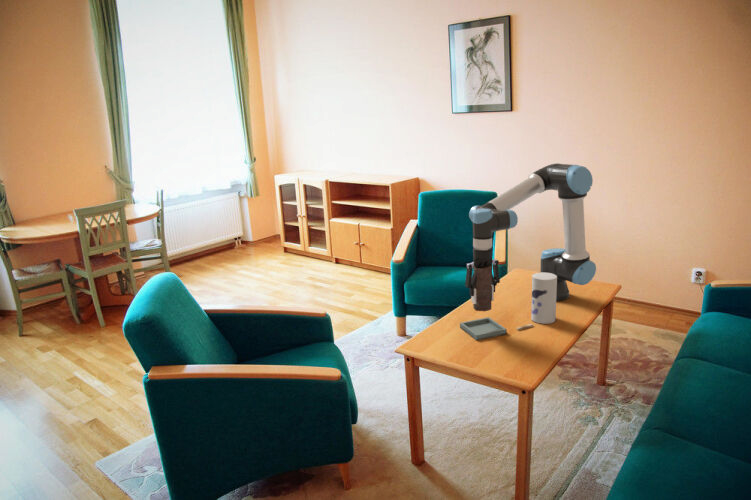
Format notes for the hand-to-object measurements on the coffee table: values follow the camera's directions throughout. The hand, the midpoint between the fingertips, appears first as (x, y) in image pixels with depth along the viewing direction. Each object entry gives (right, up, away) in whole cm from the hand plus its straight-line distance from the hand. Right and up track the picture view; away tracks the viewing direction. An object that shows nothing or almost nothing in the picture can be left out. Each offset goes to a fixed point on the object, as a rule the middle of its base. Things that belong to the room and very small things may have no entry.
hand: (482, 301), depth 216 cm
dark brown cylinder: (0, -4, +1) cm, 4 cm away
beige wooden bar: (+19, -12, +4) cm, 22 cm away
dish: (+1, -13, +4) cm, 13 cm away
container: (+29, -9, +11) cm, 32 cm away
